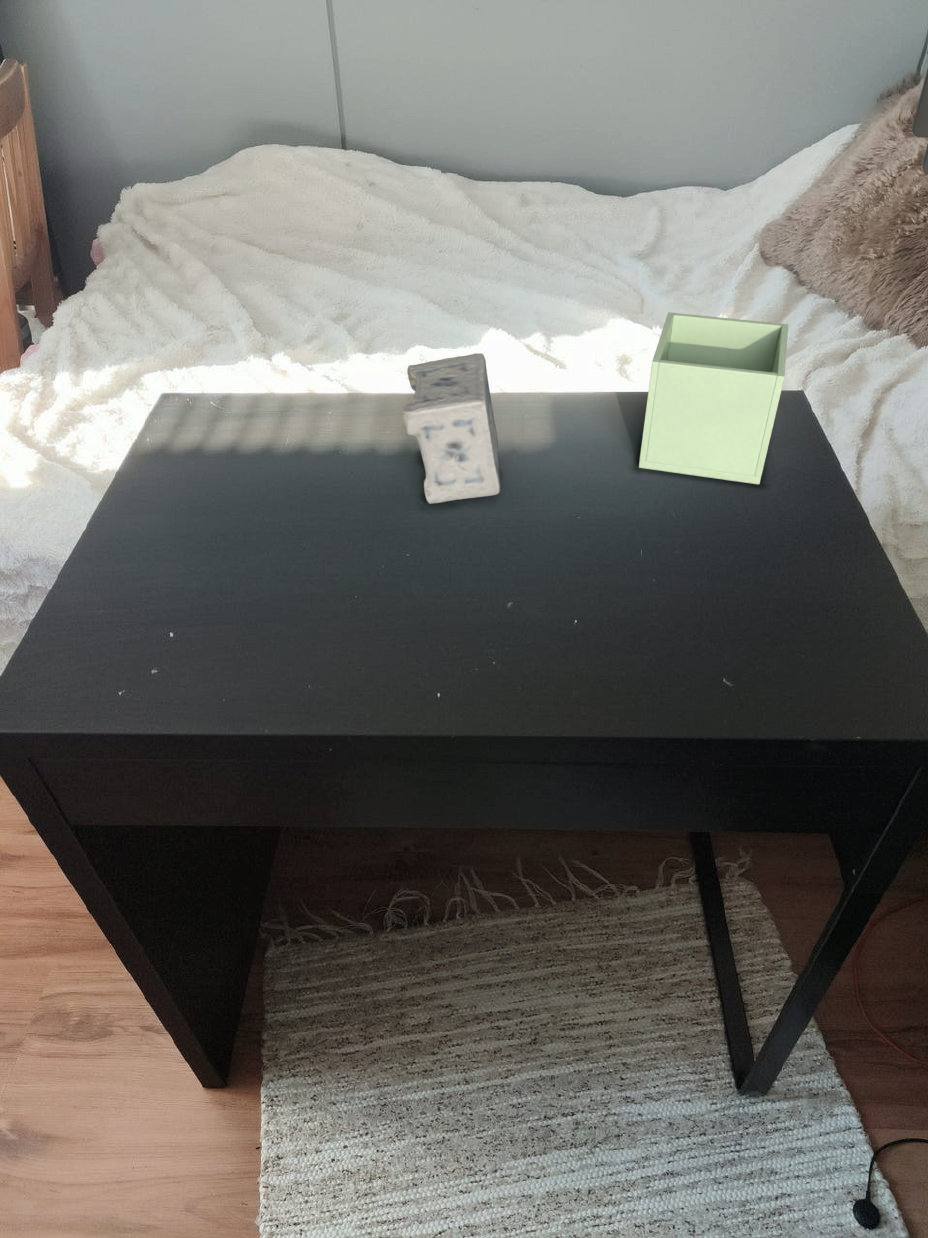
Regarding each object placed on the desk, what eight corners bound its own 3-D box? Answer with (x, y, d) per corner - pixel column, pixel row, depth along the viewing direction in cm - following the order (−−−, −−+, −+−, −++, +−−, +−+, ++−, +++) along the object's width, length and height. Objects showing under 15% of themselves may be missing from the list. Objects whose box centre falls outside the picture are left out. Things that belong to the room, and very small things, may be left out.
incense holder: (413, 452, 89) (406, 352, 83) (497, 450, 89) (498, 350, 83) (408, 508, 82) (401, 403, 75) (500, 506, 82) (501, 401, 75)
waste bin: (765, 426, 92) (788, 323, 85) (759, 484, 84) (784, 376, 77) (654, 412, 95) (668, 311, 88) (638, 467, 87) (652, 361, 80)
